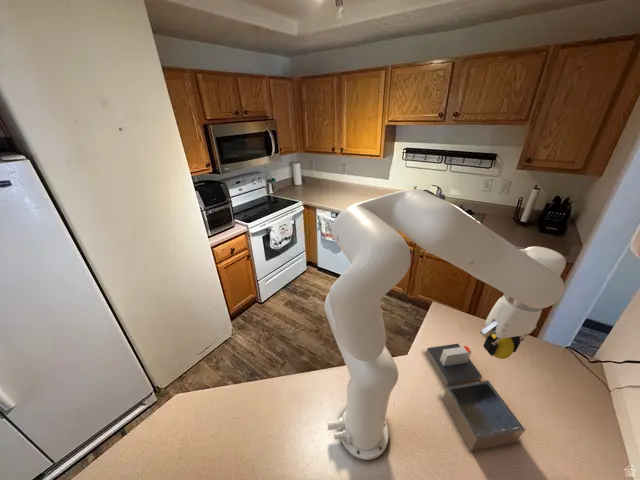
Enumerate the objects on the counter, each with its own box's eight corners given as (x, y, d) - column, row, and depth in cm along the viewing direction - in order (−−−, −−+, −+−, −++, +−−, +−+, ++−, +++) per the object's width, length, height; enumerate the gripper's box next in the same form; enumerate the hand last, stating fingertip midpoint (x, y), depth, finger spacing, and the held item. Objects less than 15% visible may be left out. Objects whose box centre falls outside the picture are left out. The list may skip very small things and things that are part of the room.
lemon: (488, 344, 74) (497, 323, 70) (510, 356, 70) (521, 336, 66) (480, 355, 71) (489, 334, 67) (503, 369, 67) (514, 348, 63)
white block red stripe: (443, 366, 80) (447, 355, 77) (439, 360, 82) (443, 349, 79) (467, 362, 81) (471, 351, 78) (463, 356, 83) (467, 345, 80)
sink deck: (446, 388, 77) (448, 382, 75) (425, 353, 87) (427, 347, 86) (479, 382, 78) (482, 376, 77) (456, 349, 88) (458, 343, 87)
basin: (470, 450, 63) (477, 439, 60) (442, 399, 74) (446, 387, 71) (517, 441, 65) (525, 429, 62) (482, 392, 76) (488, 380, 73)
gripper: (541, 283, 65) (515, 334, 73) (479, 291, 62) (460, 342, 71) (571, 304, 58) (539, 357, 67) (503, 313, 56) (479, 366, 65)
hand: (499, 348), depth 69 cm, fingers closed on lemon, 5 cm apart
